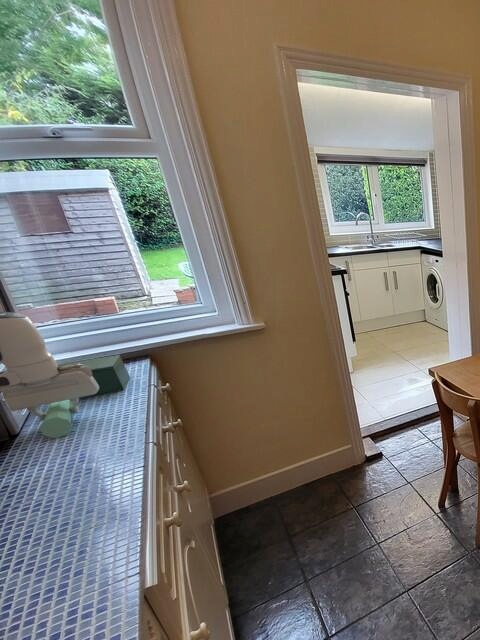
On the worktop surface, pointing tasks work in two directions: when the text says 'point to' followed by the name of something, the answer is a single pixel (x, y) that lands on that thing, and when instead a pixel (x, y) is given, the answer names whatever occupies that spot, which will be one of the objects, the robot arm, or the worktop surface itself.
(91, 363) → the case lid
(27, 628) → the worktop surface
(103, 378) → the case
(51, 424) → the light green cylinder
